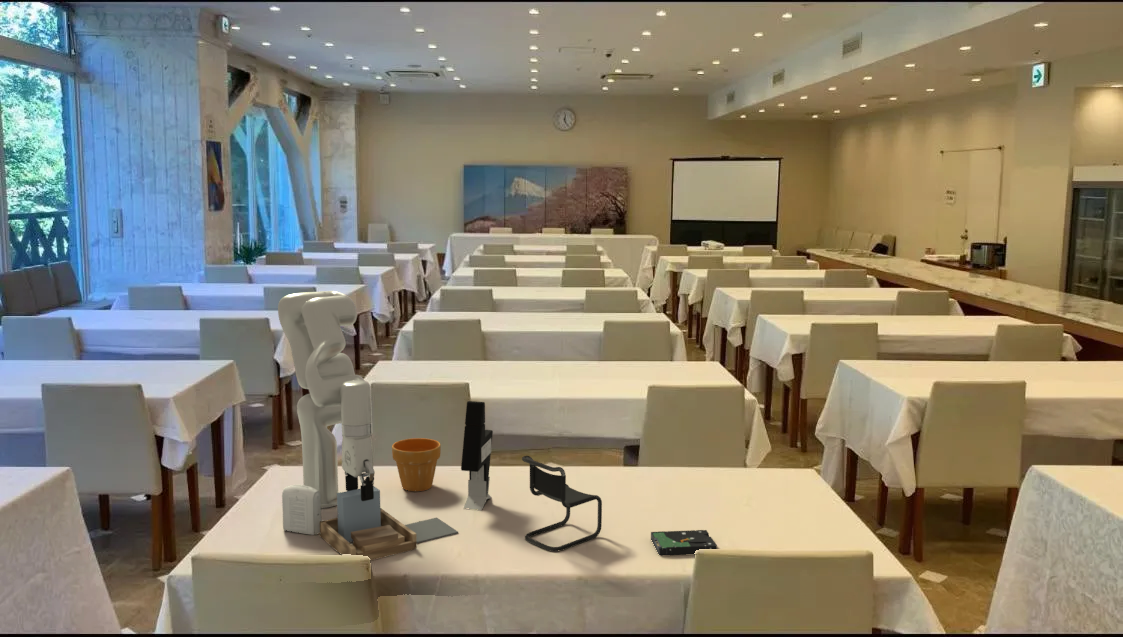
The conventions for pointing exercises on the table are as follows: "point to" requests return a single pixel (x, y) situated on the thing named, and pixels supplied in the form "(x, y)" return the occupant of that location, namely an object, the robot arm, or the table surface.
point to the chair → (558, 499)
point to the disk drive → (681, 542)
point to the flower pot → (416, 462)
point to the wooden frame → (344, 547)
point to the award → (476, 455)
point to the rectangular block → (357, 512)
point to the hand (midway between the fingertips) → (359, 494)
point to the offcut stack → (375, 538)
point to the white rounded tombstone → (301, 509)
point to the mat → (430, 529)
